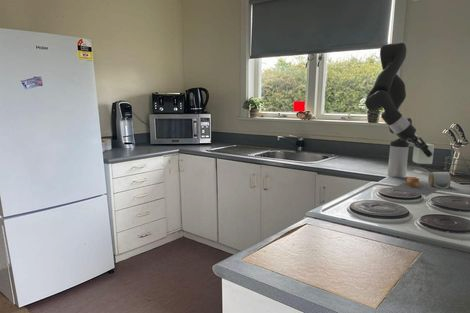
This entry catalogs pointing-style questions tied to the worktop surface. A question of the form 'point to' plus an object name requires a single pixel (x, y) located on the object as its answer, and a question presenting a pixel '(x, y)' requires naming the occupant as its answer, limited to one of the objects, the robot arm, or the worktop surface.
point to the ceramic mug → (440, 179)
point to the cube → (412, 182)
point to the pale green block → (423, 155)
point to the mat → (416, 189)
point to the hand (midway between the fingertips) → (426, 154)
